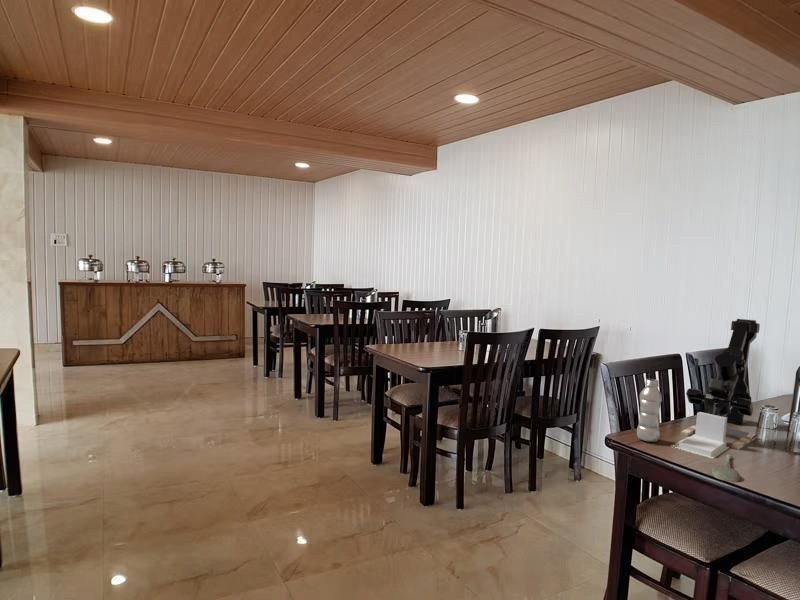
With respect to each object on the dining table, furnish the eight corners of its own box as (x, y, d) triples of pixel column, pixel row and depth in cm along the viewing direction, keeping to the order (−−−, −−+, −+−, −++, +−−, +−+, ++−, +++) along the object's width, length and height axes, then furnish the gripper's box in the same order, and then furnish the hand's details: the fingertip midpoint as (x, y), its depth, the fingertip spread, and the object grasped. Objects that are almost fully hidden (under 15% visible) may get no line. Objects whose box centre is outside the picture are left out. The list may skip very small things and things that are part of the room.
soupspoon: (709, 481, 138) (738, 489, 134) (711, 469, 137) (740, 477, 134) (717, 456, 155) (742, 462, 152) (718, 445, 155) (744, 452, 151)
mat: (688, 437, 171) (688, 436, 171) (729, 447, 162) (729, 447, 162) (670, 447, 161) (670, 446, 161) (712, 459, 152) (712, 458, 152)
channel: (695, 427, 183) (695, 424, 183) (751, 441, 170) (751, 437, 170) (680, 434, 173) (681, 431, 173) (738, 450, 161) (739, 446, 161)
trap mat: (705, 423, 189) (705, 422, 189) (756, 435, 177) (756, 434, 177) (699, 426, 184) (699, 425, 184) (751, 439, 172) (751, 438, 172)
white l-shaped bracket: (695, 437, 170) (697, 411, 170) (726, 445, 164) (729, 418, 163) (678, 447, 159) (681, 419, 159) (710, 456, 153) (713, 427, 152)
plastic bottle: (662, 444, 162) (668, 383, 161) (641, 443, 163) (646, 381, 161) (653, 437, 169) (658, 378, 167) (632, 436, 169) (637, 377, 168)
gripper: (690, 364, 176) (675, 400, 170) (754, 375, 163) (741, 414, 156) (696, 384, 182) (682, 419, 176) (758, 396, 169) (745, 435, 162)
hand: (711, 421), depth 167 cm, fingers closed, pressing on white l-shaped bracket
